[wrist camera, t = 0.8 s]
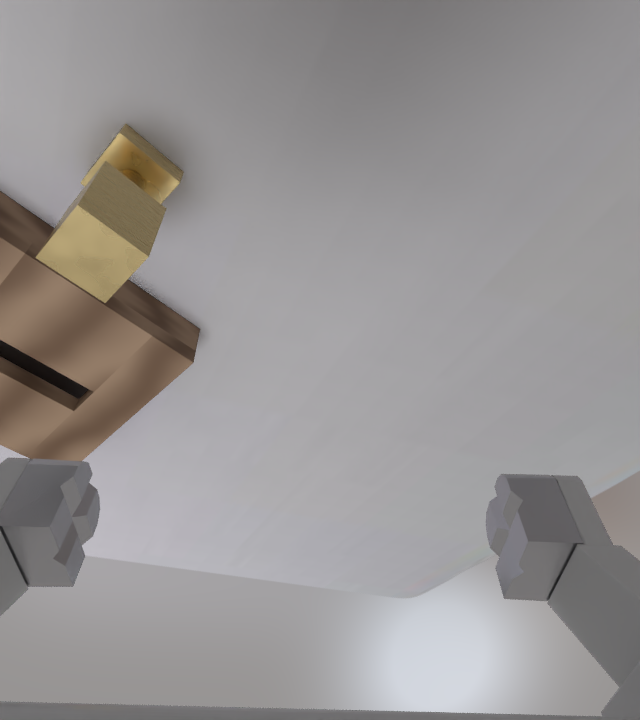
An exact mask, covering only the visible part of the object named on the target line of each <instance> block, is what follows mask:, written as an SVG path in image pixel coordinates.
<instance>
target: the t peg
mask: <svg viewBox="0 0 640 720" xmlns="http://www.w3.org/2000/svg"><path fill="white" fill-rule="evenodd" d="M183 173H184V172H183V171H181V170H180V169H179V168H178V167H177V166H176V165H174V164H173V163H172V162H171V161H170V160H168V159H167V158H166V157H165V156H164V155H163V154H161V153H160V152H159V151H158V150H157V149H155V148H154V147H153V146H152V145H151V144H150V143H148V142H147V141H146V140H145V139H144V138H142V137H141V136H140V135H139V134H138V133H136V132H135V131H134V130H133V129H132V128H131V127H129V126H128V125H127V124H125V125H124V126H123V128H122V129H121V130H120V132H119V133H118V134H117V135H116V137H115V138H114V139H113V141H112V142H111V143H110V144H109V146H108V147H107V148H106V149H105V151H104V152H103V153H102V155H101V156H100V157H99V158H98V160H97V161H96V162H95V164H94V165H93V166H92V167H91V169H90V170H89V171H88V173H87V174H86V175H85V177H84V178H83V180H82V181H81V184H82V185H84V186H85V187H84V189H83V190H82V191H81V192H80V194H79V195H78V196H77V198H76V199H75V200H74V201H73V203H72V204H71V205H70V206H69V208H68V209H67V210H66V212H65V213H64V215H63V216H62V218H61V219H60V221H59V223H58V224H57V226H56V227H55V229H54V230H53V232H52V233H51V235H50V236H49V238H48V239H47V241H46V242H45V244H44V245H43V247H42V248H41V250H40V251H39V253H38V254H37V256H36V257H35V258H37V259H38V260H40V261H41V262H43V263H44V264H46V265H47V266H49V267H50V268H52V269H53V270H55V271H56V272H58V273H60V274H61V275H63V276H64V277H66V278H67V279H69V280H70V281H72V282H73V283H75V284H76V285H78V286H80V287H81V288H83V289H84V290H86V291H87V292H89V293H90V294H92V295H93V296H95V297H96V298H98V299H99V300H101V301H103V302H104V303H106V302H107V301H108V300H109V299H110V298H111V296H112V295H113V294H114V293H115V292H116V291H117V290H118V289H119V288H120V287H121V286H122V285H123V284H124V283H125V282H126V280H127V279H128V278H129V277H130V276H131V275H132V274H133V273H134V272H135V271H136V270H137V269H138V268H139V267H140V265H141V264H142V263H143V262H144V261H145V260H146V259H147V258H148V257H149V255H150V252H151V249H152V246H153V244H154V241H155V238H156V235H157V233H158V230H159V227H160V224H161V222H162V219H163V216H164V214H165V211H166V208H165V207H164V206H162V205H161V203H162V202H163V201H164V200H165V199H166V198H167V197H168V195H169V194H170V193H171V192H172V191H173V190H174V189H175V188H176V187H177V185H178V184H179V183H180V181H181V178H182V175H183Z"/></svg>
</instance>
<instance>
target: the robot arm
mask: <svg viewBox="0 0 640 720" xmlns="http://www.w3.org/2000/svg"><path fill="white" fill-rule="evenodd" d="M91 476H92V471H91V468H90V466H89V463H88V462H84V461H68V460H50V459H27V458H7V459H6V460H4V461H3V462H2V463H1V464H0V616H1V615H2V614H3V613H4V612H5V611H6V610H7V609H8V608H9V607H10V606H11V605H12V604H13V603H15V602H16V600H18V598H20V597H21V596H22V595H23V594H24V593H25V592H26V591H27V590H28V587H30V586H32V587H35V586H36V587H52V586H54V587H61V586H62V587H70V586H71V587H73V586H74V583H75V580H76V578H77V575H78V573H79V570H80V568H81V565H82V563H83V560H84V558H85V554H84V551H83V548H82V545H83V544H84V543H85V542H86V541H88V540H89V539H90V538H91V537H92V536H93V534H94V532H95V529H96V526H97V524H98V518H99V511H100V501H99V495H98V491H97V489H96V488H95V487H93V486H92V485H91V484H90V483H89V481H90V479H91ZM495 490H496V493H497V497H495V498H494V499H492V500H491V501H490V502H489V505H488V509H487V512H486V531H487V538H488V542H489V545H490V548H491V549H492V550H493V551H494V552H495V553H496V554H497V555H498V556H499V560H498V562H497V565H496V571H497V575H498V578H499V582H500V586H501V589H502V593H503V596H504V599H518V600H536V601H548V605H549V606H550V607H551V608H552V609H553V610H554V612H555V613H556V614H557V615H558V616H559V618H560V619H561V620H562V621H563V622H564V623H565V625H566V626H567V627H568V628H569V629H570V630H571V631H572V633H573V634H574V635H575V636H576V637H577V638H578V640H579V641H580V642H581V643H582V644H583V645H584V647H585V648H586V649H587V650H588V651H589V652H590V653H591V655H592V656H593V657H594V658H595V659H596V660H597V662H598V663H599V664H600V665H601V666H602V667H603V669H604V670H605V671H606V672H607V673H608V674H609V676H610V677H611V678H612V679H613V680H614V681H615V683H616V684H617V685H618V686H619V689H618V690H617V691H616V693H615V694H614V695H613V697H612V698H611V699H610V701H609V702H608V703H607V705H606V706H605V707H604V709H603V710H602V712H601V713H602V716H561V715H521V714H483V713H444V712H443V713H442V712H404V711H403V712H401V711H365V710H326V709H286V708H245V707H205V706H202V707H201V706H164V705H122V704H121V705H119V704H81V703H42V702H40V703H39V702H0V720H640V561H639V560H638V559H637V558H636V557H634V556H633V555H632V554H631V553H629V552H628V551H627V550H625V549H624V548H623V547H622V546H616V545H613V543H612V541H611V539H610V537H609V535H608V533H607V531H606V529H605V527H604V525H603V523H602V521H601V519H600V517H599V515H598V512H597V510H596V508H595V506H594V504H593V502H592V500H591V498H590V496H589V494H588V492H587V490H586V488H585V486H584V484H583V482H582V480H581V479H580V478H579V477H578V476H560V475H551V476H550V475H526V474H501V475H500V476H499V477H498V478H497V481H496V484H495Z"/></svg>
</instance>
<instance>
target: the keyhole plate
mask: <svg viewBox="0 0 640 720" xmlns="http://www.w3.org/2000/svg"><path fill="white" fill-rule="evenodd" d="M53 230H54V228H53V227H51V226H50V225H48V224H47V223H45V222H44V221H42V220H41V219H40V218H38V217H37V216H35V215H34V214H32V213H31V212H29V211H28V210H27V209H25V208H24V207H22V206H21V205H19V204H18V203H16V202H15V201H13V200H12V199H11V198H9V197H8V196H6V195H5V194H3V193H2V192H0V340H2V341H3V342H5V343H7V344H9V345H11V346H12V347H14V348H16V349H18V350H20V351H21V352H23V353H25V354H27V355H28V356H30V357H32V358H34V359H36V360H37V361H39V362H41V363H43V364H45V365H46V366H48V367H50V368H52V369H54V370H55V371H57V372H59V373H61V374H62V375H64V376H66V377H68V378H70V379H71V380H73V381H75V382H77V383H79V384H80V385H82V386H84V387H86V388H88V389H89V390H88V391H87V392H86V393H85V394H84V395H83V396H82V397H81V398H79V399H78V398H76V397H74V396H72V395H70V394H68V393H67V392H65V391H63V390H61V389H59V388H57V387H56V386H54V385H52V384H50V383H48V382H46V381H45V380H43V379H41V378H39V377H37V376H35V375H33V374H32V373H30V372H28V371H26V370H24V369H22V368H21V367H19V366H17V365H15V364H13V363H11V362H10V361H8V360H6V359H4V358H2V357H0V445H2V446H4V447H6V448H9V449H11V450H13V451H15V452H17V453H19V454H21V455H24V456H26V457H28V458H30V459H50V460H68V461H82V460H83V459H84V458H86V457H87V456H88V455H89V454H90V453H91V452H92V451H94V450H95V449H96V448H97V447H98V446H99V445H100V444H101V443H103V442H104V441H105V440H106V439H107V438H108V437H109V436H111V435H112V434H113V433H114V432H115V431H116V430H117V429H119V428H120V427H121V426H122V425H123V424H124V423H125V422H127V421H128V420H129V419H130V418H131V417H132V416H133V415H134V414H136V413H137V412H138V411H139V410H140V409H141V408H142V407H144V406H145V405H146V404H147V403H148V402H149V401H150V400H152V399H153V398H154V397H155V396H156V395H157V394H158V393H159V392H161V391H162V390H163V389H164V388H165V387H166V386H167V385H169V384H170V383H171V382H172V381H173V380H174V379H175V378H177V377H178V376H179V375H180V374H181V373H182V372H183V371H185V370H186V369H187V368H188V367H189V366H190V365H191V364H192V363H193V362H194V357H195V352H196V347H197V342H198V336H199V331H200V329H199V328H197V327H196V326H195V325H193V324H192V323H190V322H189V321H187V320H186V319H184V318H183V317H182V316H180V315H179V314H177V313H176V312H174V311H173V310H171V309H170V308H168V307H167V306H166V305H164V304H163V303H161V302H160V301H158V300H157V299H155V298H154V297H153V296H151V295H150V294H148V293H147V292H145V291H144V290H142V289H141V288H139V287H138V286H137V285H135V284H134V283H132V282H131V281H129V280H128V279H127V280H126V282H125V283H124V284H123V285H122V286H121V287H120V288H119V289H118V290H117V291H116V292H115V293H114V294H113V295H112V296H111V298H110V299H109V300H108V301H107V302H106V303H104V302H103V301H101V300H99V299H98V298H96V297H95V296H93V295H92V294H90V293H89V292H87V291H86V290H84V289H83V288H81V287H80V286H78V285H76V284H75V283H73V282H72V281H70V280H69V279H67V278H66V277H64V276H63V275H61V274H60V273H58V272H56V271H55V270H53V269H52V268H50V267H49V266H47V265H46V264H44V263H43V262H41V261H40V260H38V259H37V258H35V257H36V256H37V254H38V253H39V251H40V250H41V248H42V247H43V245H44V244H45V242H46V241H47V239H48V238H49V236H50V235H51V233H52V232H53Z"/></svg>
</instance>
